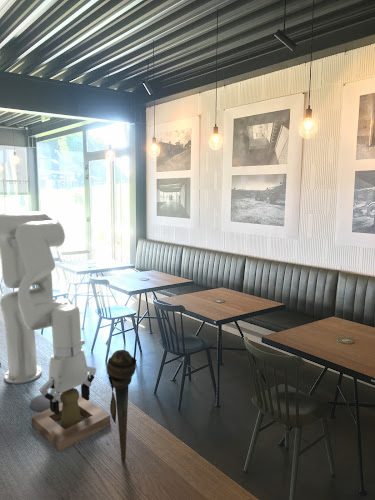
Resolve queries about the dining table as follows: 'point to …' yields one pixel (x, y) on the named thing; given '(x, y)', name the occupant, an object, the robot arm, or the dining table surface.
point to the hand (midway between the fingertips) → (70, 405)
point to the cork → (70, 408)
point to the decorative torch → (120, 391)
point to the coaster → (41, 403)
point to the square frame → (75, 433)
